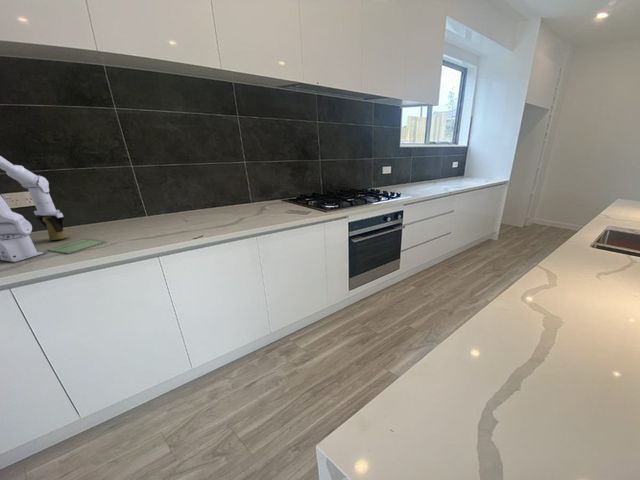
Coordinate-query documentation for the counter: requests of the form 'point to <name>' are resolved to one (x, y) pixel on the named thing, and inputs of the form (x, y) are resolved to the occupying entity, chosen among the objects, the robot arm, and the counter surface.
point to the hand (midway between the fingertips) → (55, 230)
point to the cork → (53, 230)
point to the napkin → (75, 246)
